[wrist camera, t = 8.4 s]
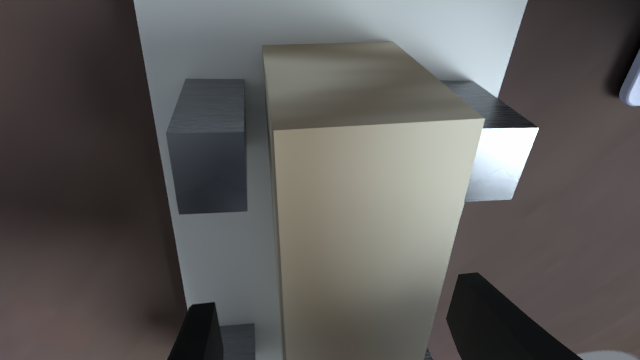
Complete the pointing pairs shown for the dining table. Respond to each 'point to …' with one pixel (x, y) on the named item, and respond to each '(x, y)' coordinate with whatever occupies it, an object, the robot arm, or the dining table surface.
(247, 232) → the cradle
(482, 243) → the dining table surface
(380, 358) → the long beige block
